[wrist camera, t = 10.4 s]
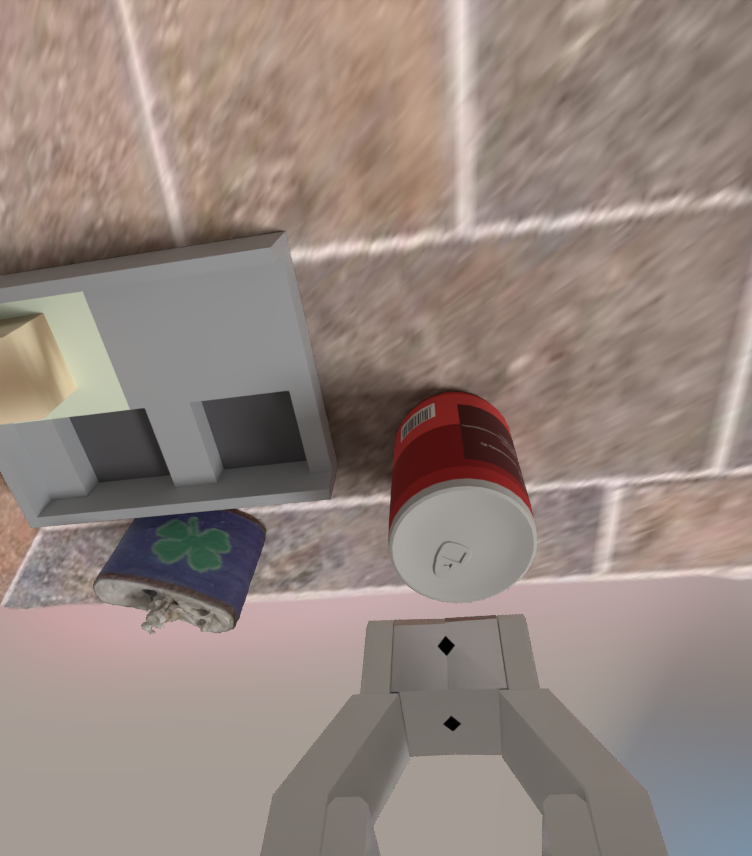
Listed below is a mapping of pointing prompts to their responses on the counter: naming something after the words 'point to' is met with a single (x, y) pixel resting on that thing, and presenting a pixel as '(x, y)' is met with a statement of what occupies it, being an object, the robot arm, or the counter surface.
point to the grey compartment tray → (172, 387)
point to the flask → (185, 568)
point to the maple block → (31, 370)
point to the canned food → (458, 502)
